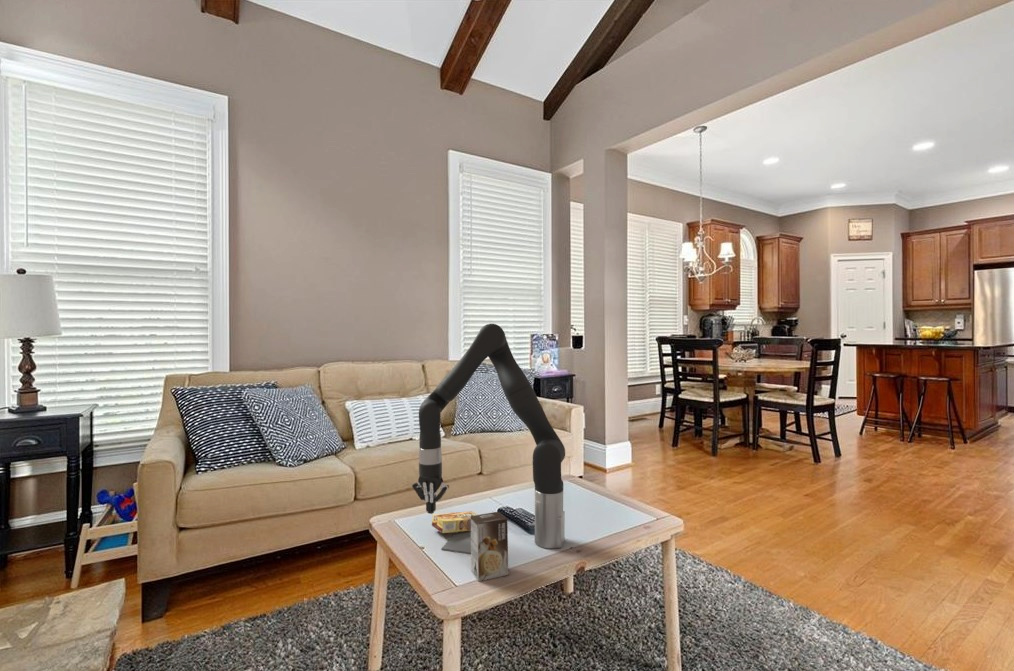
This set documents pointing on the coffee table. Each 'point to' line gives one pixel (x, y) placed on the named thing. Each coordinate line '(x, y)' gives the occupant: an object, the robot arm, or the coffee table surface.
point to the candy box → (453, 521)
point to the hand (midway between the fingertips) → (430, 512)
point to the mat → (459, 543)
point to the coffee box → (489, 546)
